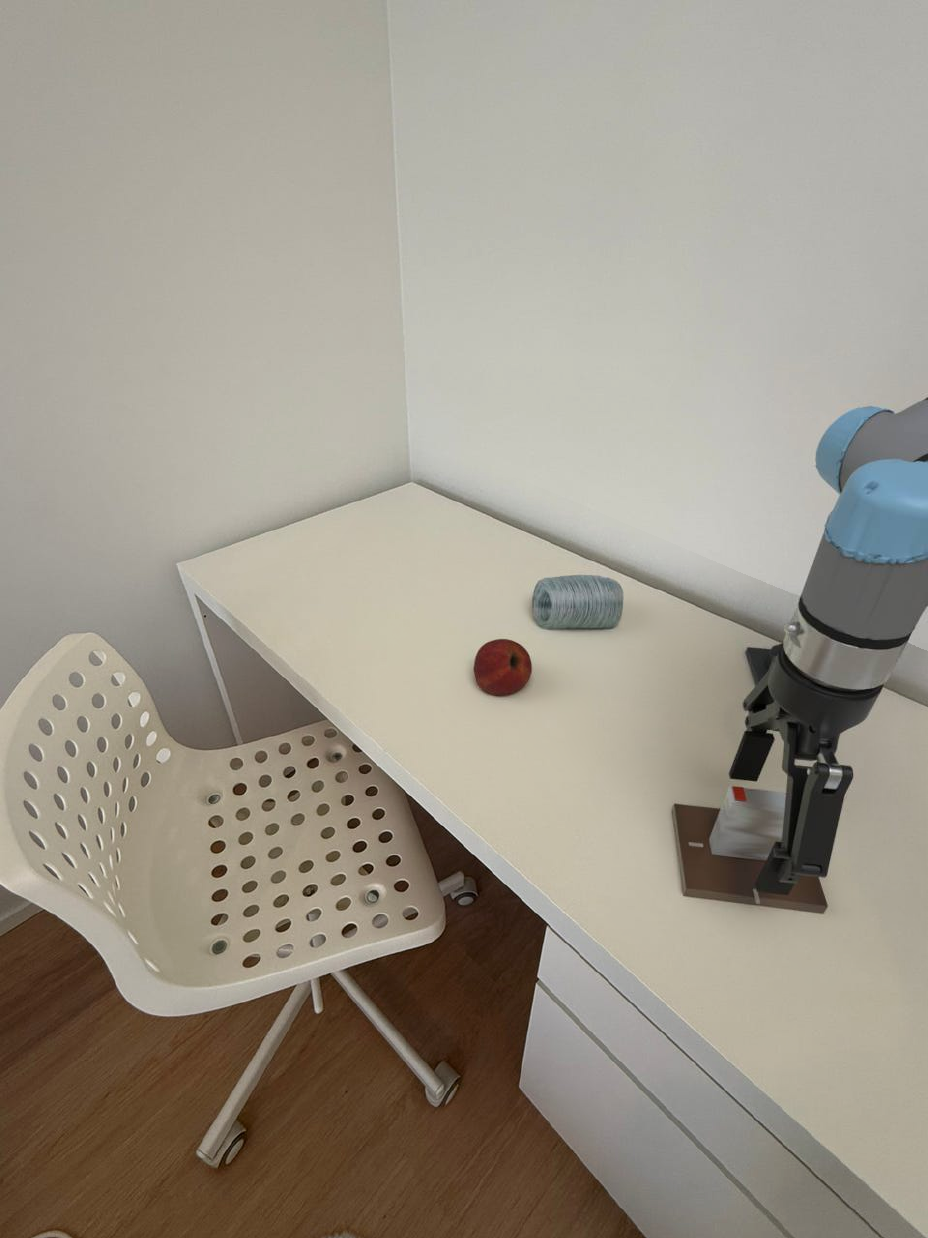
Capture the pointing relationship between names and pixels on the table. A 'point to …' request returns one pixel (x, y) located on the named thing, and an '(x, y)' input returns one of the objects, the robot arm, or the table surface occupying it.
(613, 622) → the spool
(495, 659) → the apple
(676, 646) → the table surface
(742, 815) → the tap handle
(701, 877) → the base
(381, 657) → the table surface
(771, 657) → the switch block
